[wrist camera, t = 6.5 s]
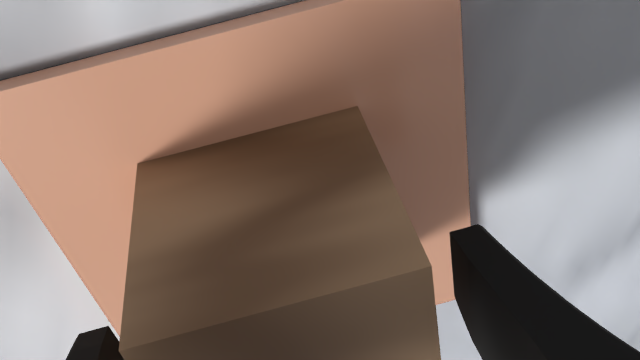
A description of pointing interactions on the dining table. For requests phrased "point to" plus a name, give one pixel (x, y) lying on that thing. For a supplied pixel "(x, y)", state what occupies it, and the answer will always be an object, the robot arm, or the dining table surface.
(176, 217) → the walnut cube
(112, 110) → the terracotta tile
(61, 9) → the dining table surface
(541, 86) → the dining table surface
